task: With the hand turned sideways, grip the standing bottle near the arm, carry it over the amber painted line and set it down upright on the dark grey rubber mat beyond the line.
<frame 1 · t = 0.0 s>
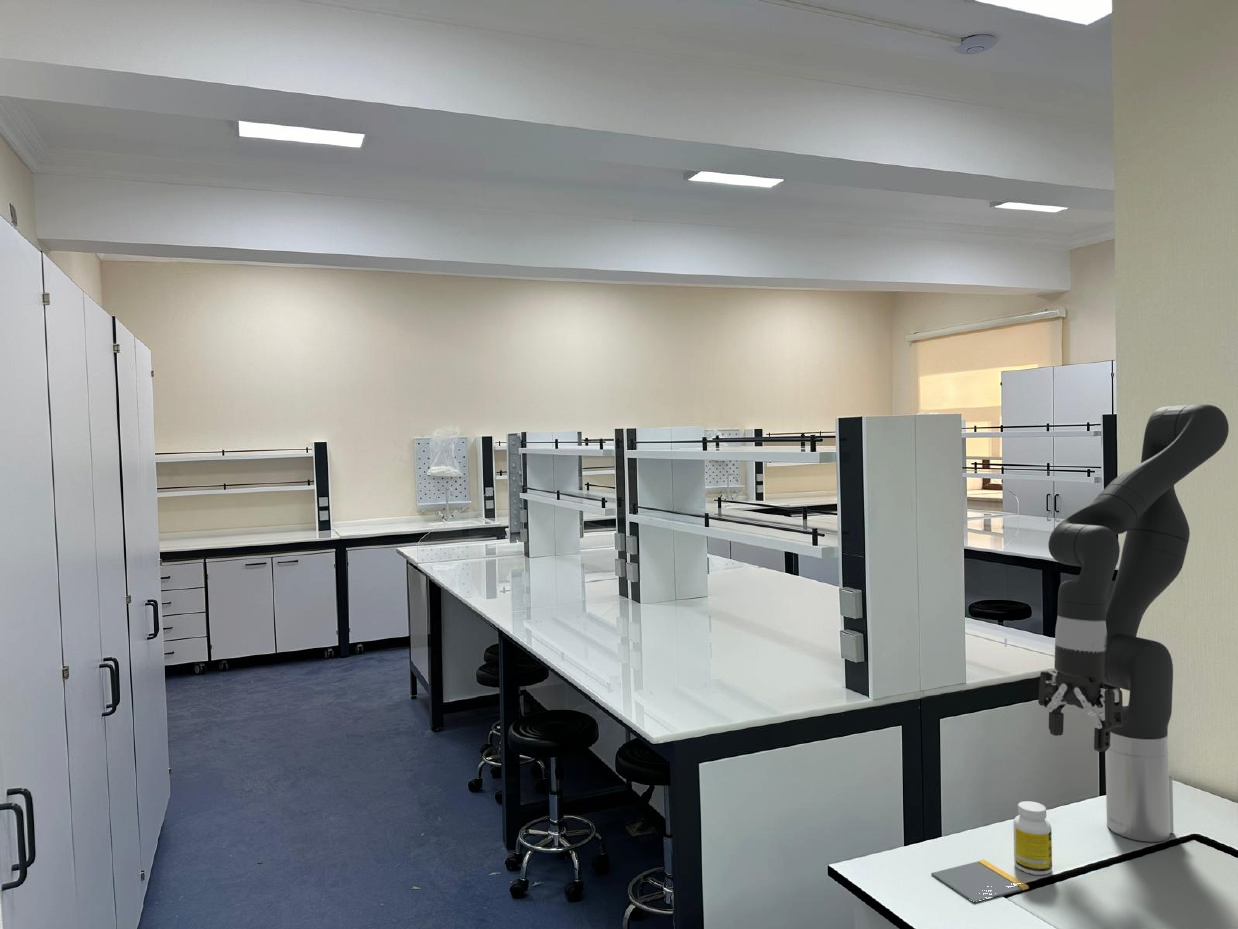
hand: (1077, 742, 138), 17 cm above the table, tool pointing down, fingers open, 8 cm apart
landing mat: (975, 882, 128), on the table
supplement bottle: (1033, 869, 132), on the table
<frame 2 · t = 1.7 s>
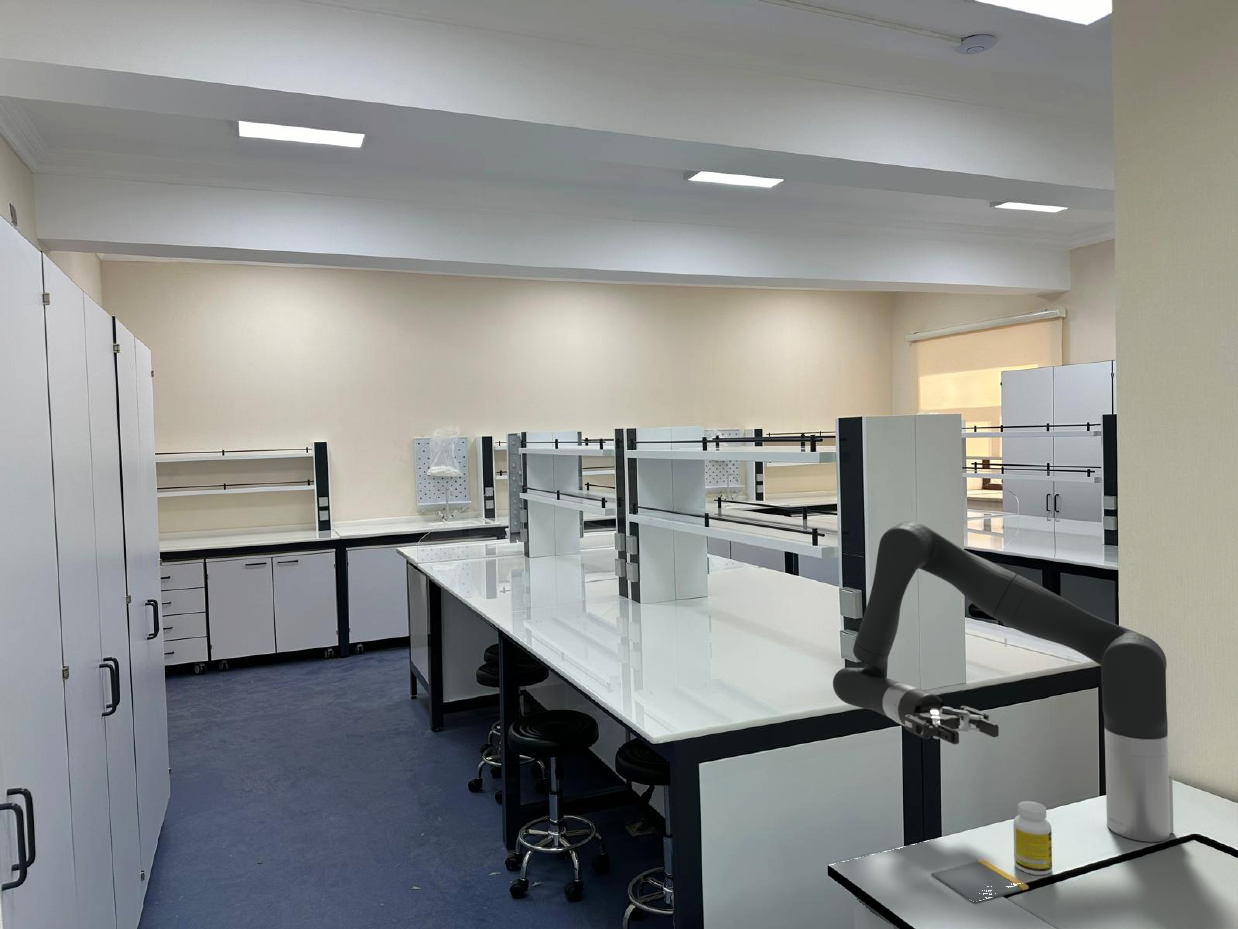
hand: (977, 735, 142), 18 cm above the table, tool horizontal, fingers open, 8 cm apart
nothing on the table moved.
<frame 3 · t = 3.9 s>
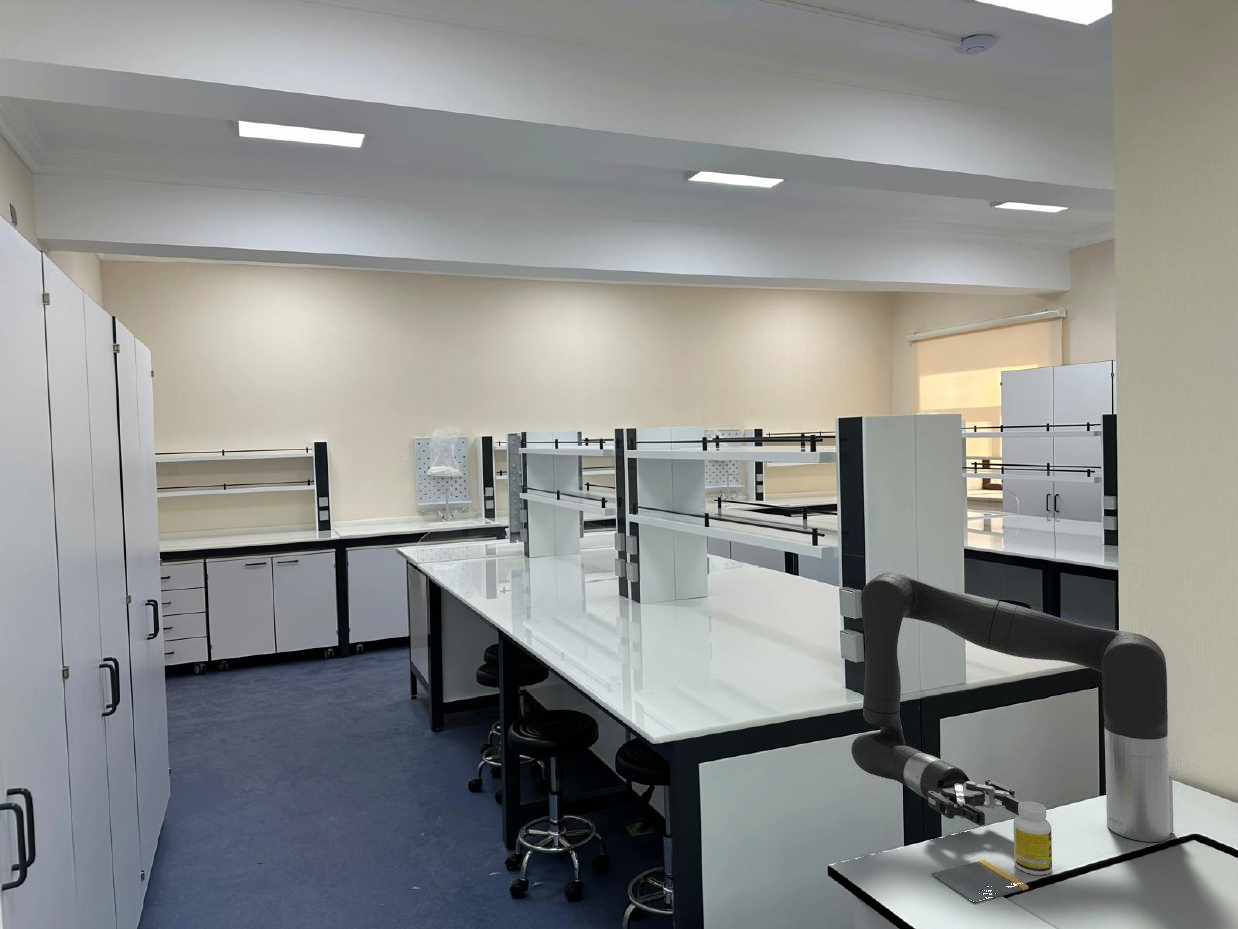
hand: (1004, 815, 137), 6 cm above the table, tool horizontal, fingers open, 8 cm apart
nothing on the table moved.
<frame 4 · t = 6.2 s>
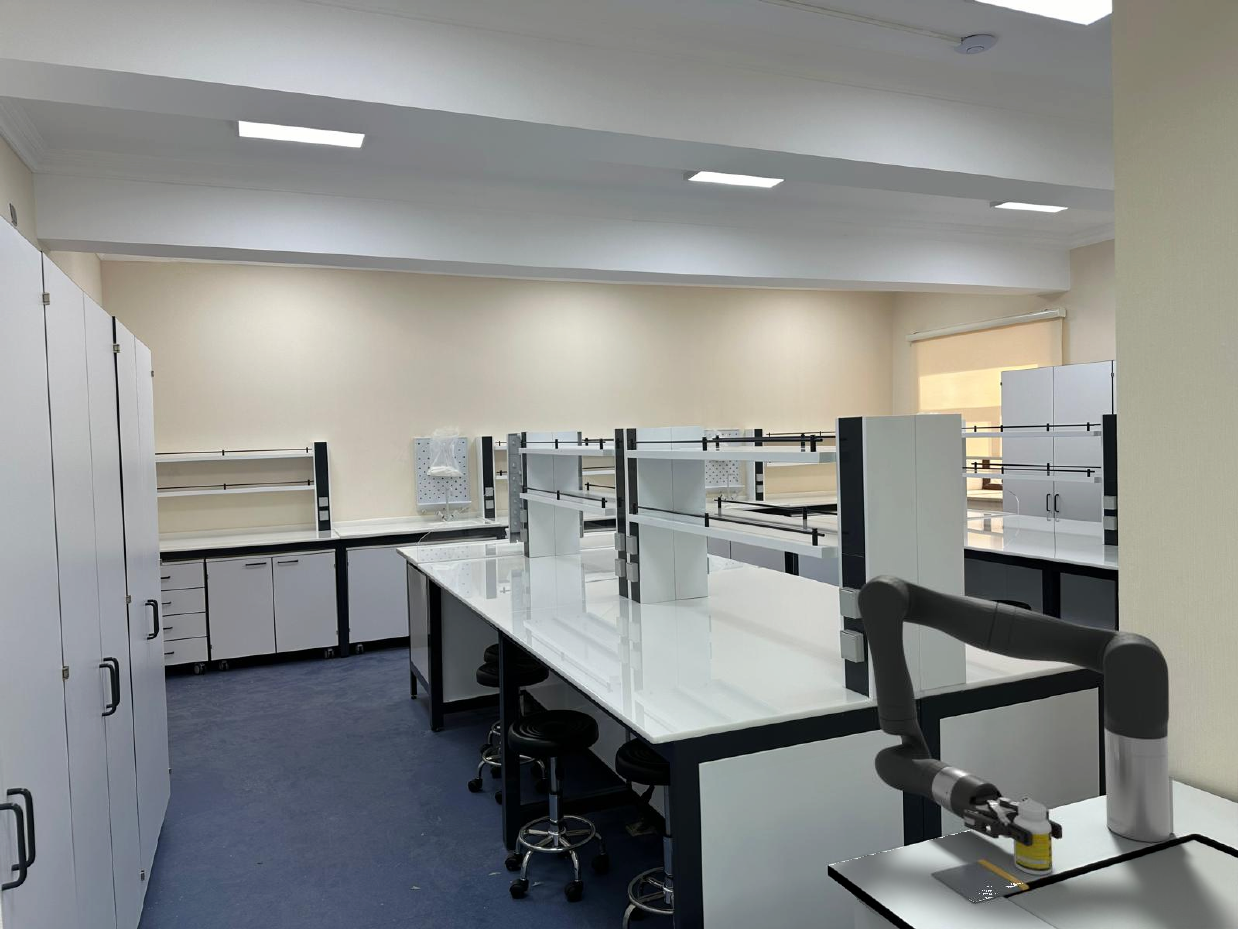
hand: (1045, 836, 130), 6 cm above the table, tool horizontal, fingers closed on supplement bottle, 5 cm apart
supplement bottle: (1033, 868, 132), on the table, touching gripper
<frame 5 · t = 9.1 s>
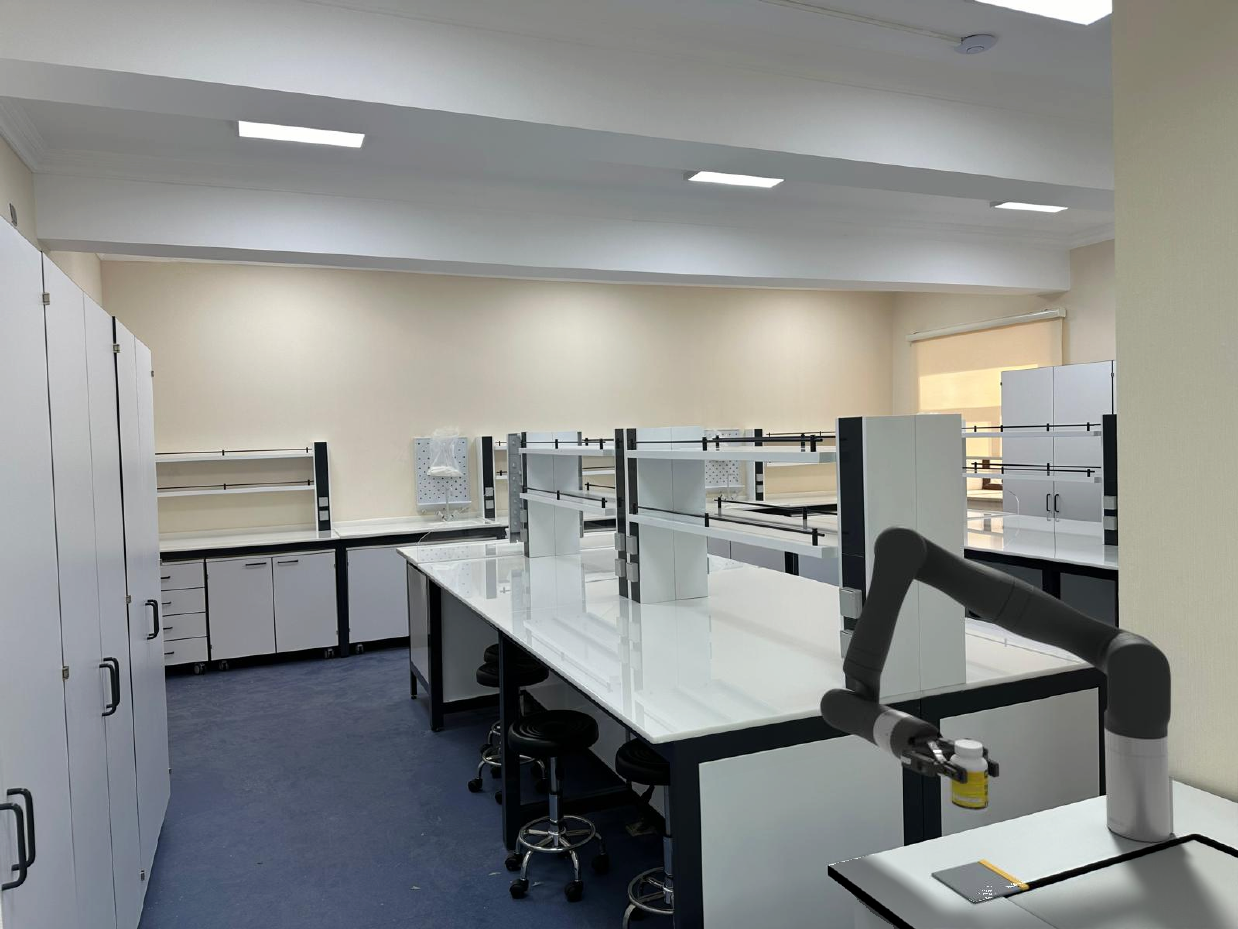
hand: (981, 774, 126), 18 cm above the table, tool horizontal, fingers closed on supplement bottle, 5 cm apart
supplement bottle: (969, 808, 128), point 11 cm above the table, touching gripper
when the fingers open (7 cm above the table, at t = 11.9 s): supplement bottle stays where it is, resting on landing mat.
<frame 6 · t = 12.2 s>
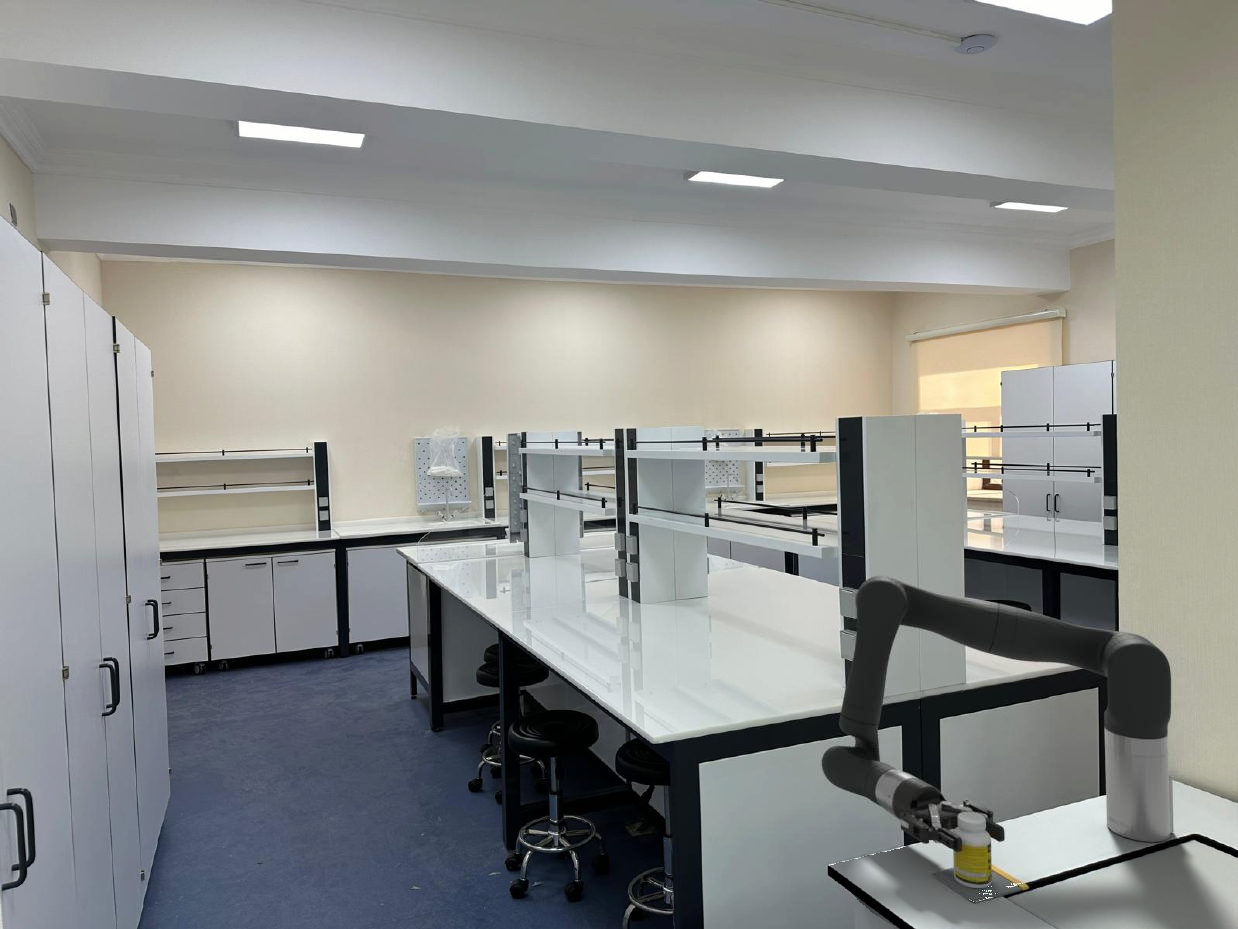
hand: (981, 840, 126), 7 cm above the table, tool horizontal, fingers open, 7 cm apart
supplement bottle: (973, 882, 128), resting on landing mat
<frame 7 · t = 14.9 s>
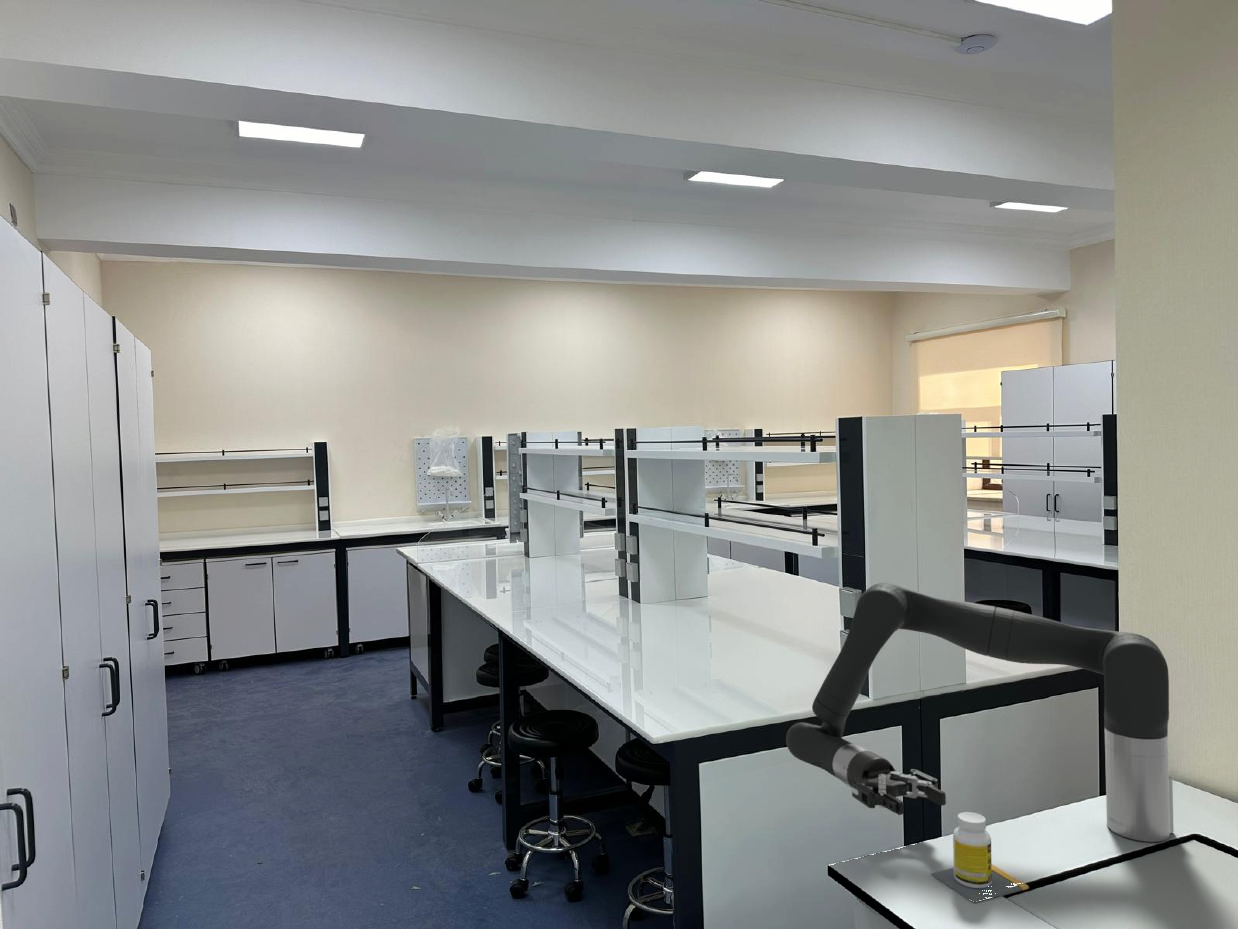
hand: (923, 804, 138), 8 cm above the table, tool horizontal, fingers open, 8 cm apart
nothing on the table moved.
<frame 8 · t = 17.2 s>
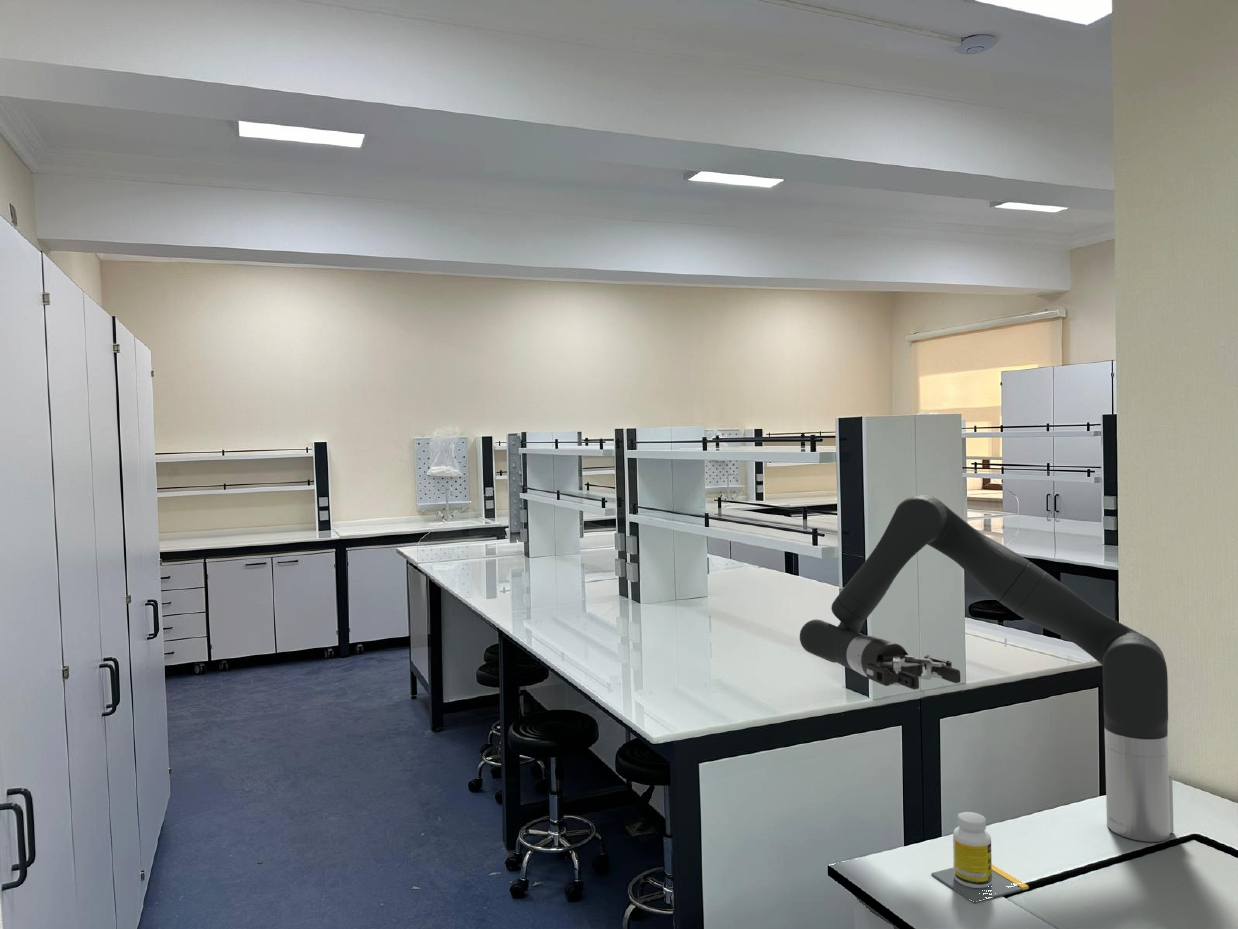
hand: (938, 680, 139), 28 cm above the table, tool horizontal, fingers open, 8 cm apart
nothing on the table moved.
at the end: supplement bottle inside the target area (1.3 cm from its centre), resting on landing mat; supplement bottle tilted 0°; the gripper is holding nothing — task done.
